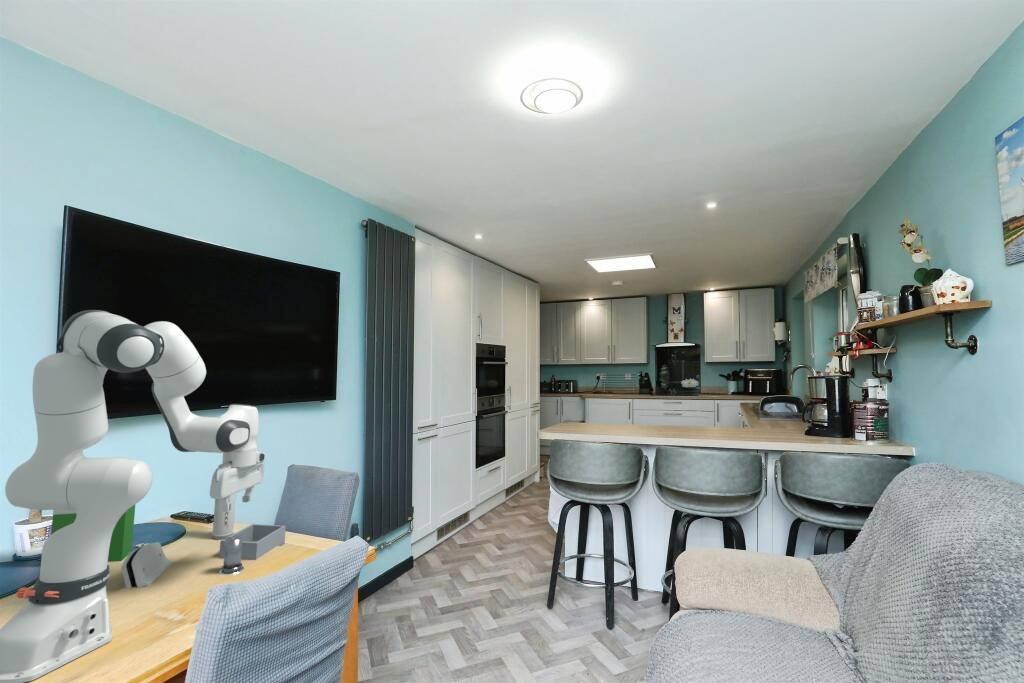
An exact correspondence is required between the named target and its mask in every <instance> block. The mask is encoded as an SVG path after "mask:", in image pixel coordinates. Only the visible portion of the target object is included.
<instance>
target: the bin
mask: <svg viewBox="0 0 1024 683" xmlns="http://www.w3.org/2000/svg"><path fill="white" fill-rule="evenodd" d="M232 536H241V537H243V540H242V554H241V560H252V561H257V560H258V559H259V558H261V557H263V556H265V554H268V553H269V552H270V551H272V550H273V549H275V548H277V547H282V546H283V545H285V542H286V525H279V524H278V525H275V524H257V523H252V524H250V525H248V526H247V527H244V528H243V529H242V528H241V530H238V531H236V532H235V533H233V535H231V536H229V537H232ZM227 538H228V537H227ZM225 539H226V538H225ZM225 539H220V542H219V555H218V556H219V558H220V559H224V551H225Z"/></svg>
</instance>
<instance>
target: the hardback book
mask: <svg viewBox="0 0 1024 683" xmlns="http://www.w3.org/2000/svg"><path fill="white" fill-rule="evenodd" d="M135 515H136V504H135V505H133V506H132V507H130V508H129V509H128V510H127V511H126V512H125V513H124V514H123V515H122V516H121V518H120V519H119V520H118V522H117V524H116V525H115V527H114V530H113V533H112V536H111V541H110V547H109V554H108V563H111V562H112V563H114V562H122V561H123V560H125V559H126V558H127V557H128V555H127V554H128V553H129V552H130V551H131V550H132V549H133V539H134V538H133V536H134V526H135ZM76 516H77V509H63V510H52V522H51V532H50V535H52V534H53V533H54V532H56V531H57V530H59V529H61V528H63V527H65V526H67V525H70V524H72V523H74V521H75V519H76ZM132 551H133V550H132ZM132 551H131V552H132Z"/></svg>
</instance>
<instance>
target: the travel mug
mask: <svg viewBox="0 0 1024 683" xmlns="http://www.w3.org/2000/svg"><path fill="white" fill-rule="evenodd" d="M236 496H237V493H235V494H232V495H230V499H228V501H229V504H231V510H229V511H227V512H223V511H222V505H221V503H220V501H219V499H214V510H213V511H214V512H213V524H212V539H213V540H217V541H218V540H220V541H221V540H223V539H225V538H227V537H229V536H231V535H233V534H234V525H235V513H236V512H235V511H236Z"/></svg>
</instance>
